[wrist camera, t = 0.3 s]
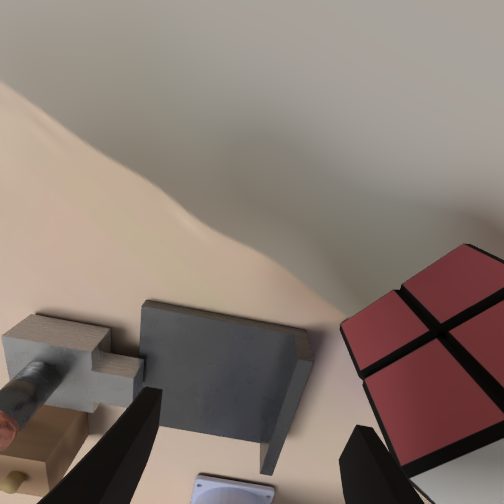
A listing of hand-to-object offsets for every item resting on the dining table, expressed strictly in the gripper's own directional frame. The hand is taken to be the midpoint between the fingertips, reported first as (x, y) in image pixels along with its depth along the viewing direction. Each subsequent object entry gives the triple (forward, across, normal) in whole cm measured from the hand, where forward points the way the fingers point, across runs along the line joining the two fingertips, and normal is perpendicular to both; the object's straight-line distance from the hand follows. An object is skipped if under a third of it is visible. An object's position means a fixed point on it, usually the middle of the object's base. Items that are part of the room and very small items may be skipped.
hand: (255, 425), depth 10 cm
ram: (+10, +12, +9) cm, 18 cm away
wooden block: (+10, +15, +17) cm, 24 cm away
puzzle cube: (+10, -13, 0) cm, 17 cm away
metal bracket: (+10, +2, +8) cm, 13 cm away
